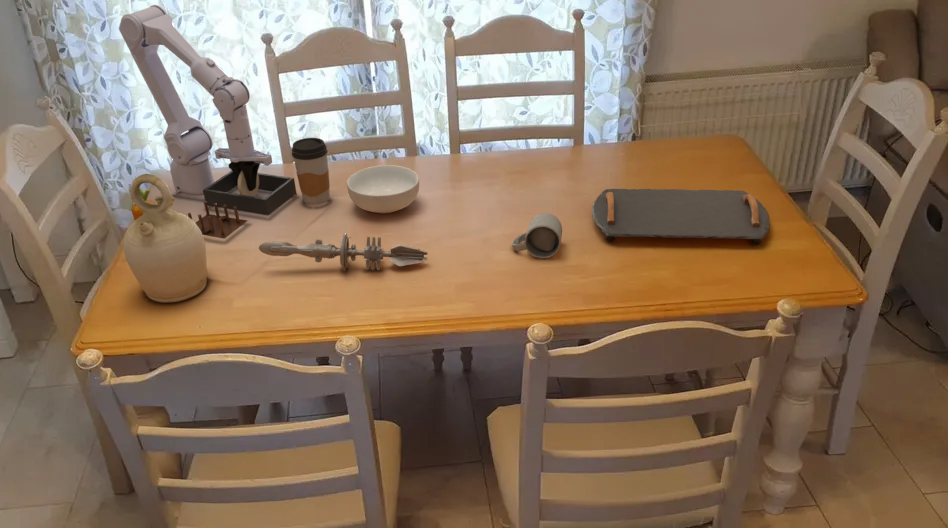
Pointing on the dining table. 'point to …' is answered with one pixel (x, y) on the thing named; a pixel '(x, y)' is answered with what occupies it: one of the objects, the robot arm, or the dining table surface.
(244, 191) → the saucer
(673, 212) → the serving tray
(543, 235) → the ceramic mug
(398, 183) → the cereal bowl
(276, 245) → the spaceship
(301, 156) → the coffee cup
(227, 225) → the dish rack
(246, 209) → the dark grey open box
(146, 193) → the carrot
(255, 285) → the dining table surface
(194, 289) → the jug
